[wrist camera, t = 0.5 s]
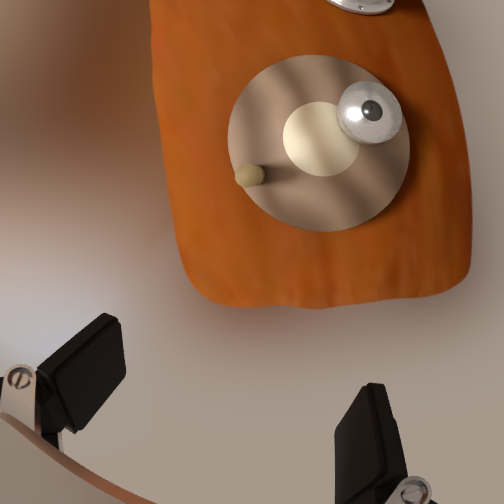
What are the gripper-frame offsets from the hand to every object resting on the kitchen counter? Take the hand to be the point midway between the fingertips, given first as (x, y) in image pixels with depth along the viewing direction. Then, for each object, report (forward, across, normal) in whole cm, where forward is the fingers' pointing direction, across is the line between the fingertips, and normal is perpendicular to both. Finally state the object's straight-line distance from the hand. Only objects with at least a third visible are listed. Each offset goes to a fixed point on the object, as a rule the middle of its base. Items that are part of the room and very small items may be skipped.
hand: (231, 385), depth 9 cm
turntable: (+26, -2, -12) cm, 29 cm away
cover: (+25, -7, -16) cm, 30 cm away
